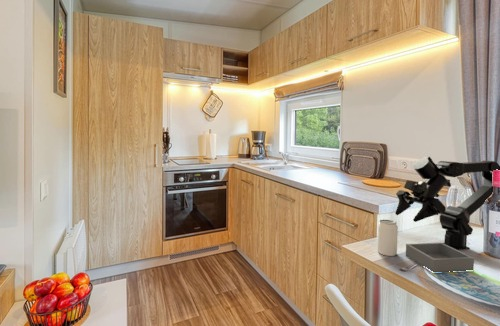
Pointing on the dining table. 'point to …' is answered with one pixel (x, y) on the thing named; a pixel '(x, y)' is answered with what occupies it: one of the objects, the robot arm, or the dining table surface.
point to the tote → (439, 257)
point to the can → (387, 237)
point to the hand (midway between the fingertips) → (404, 217)
